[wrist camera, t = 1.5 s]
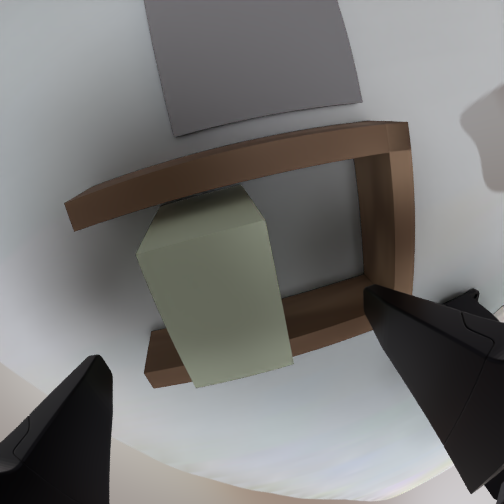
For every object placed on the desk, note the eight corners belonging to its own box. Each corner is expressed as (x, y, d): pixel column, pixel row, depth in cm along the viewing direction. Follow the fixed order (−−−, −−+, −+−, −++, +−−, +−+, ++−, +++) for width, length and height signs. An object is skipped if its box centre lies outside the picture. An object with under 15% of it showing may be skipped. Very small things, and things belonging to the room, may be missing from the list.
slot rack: (380, 285, 18) (410, 314, 15) (159, 346, 17) (153, 388, 14) (368, 120, 14) (407, 122, 11) (93, 186, 13) (64, 203, 10)
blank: (265, 290, 17) (293, 364, 11) (195, 308, 17) (195, 388, 11) (240, 184, 14) (265, 220, 9) (160, 205, 14) (135, 254, 9)
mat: (355, 103, 13) (362, 102, 13) (175, 136, 13) (174, 137, 12) (314, -41, 10) (319, -47, 9) (142, -20, 9) (139, -27, 8)
